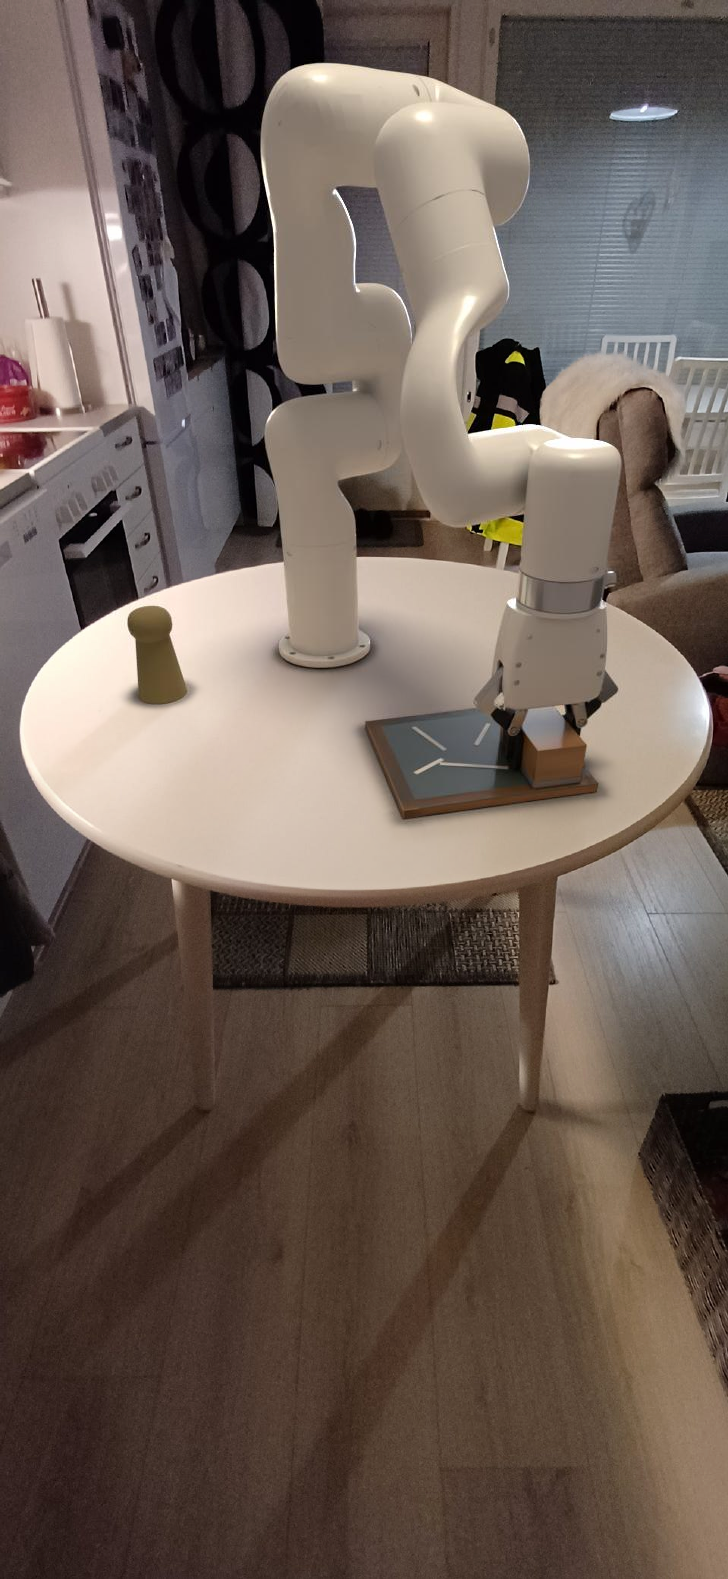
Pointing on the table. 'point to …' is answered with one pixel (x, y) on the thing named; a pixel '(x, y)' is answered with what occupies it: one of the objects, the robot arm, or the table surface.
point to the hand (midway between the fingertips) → (538, 757)
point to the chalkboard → (453, 764)
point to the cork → (155, 656)
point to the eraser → (550, 749)
